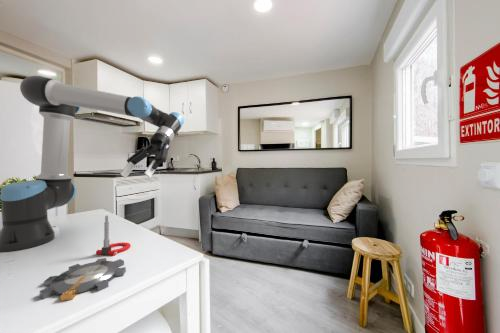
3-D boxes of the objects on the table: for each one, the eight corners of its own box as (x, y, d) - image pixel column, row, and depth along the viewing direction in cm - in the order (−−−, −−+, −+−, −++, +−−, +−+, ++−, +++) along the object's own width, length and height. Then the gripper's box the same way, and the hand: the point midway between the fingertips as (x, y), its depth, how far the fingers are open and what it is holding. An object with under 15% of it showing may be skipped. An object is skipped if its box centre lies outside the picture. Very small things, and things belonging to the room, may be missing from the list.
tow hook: (115, 244, 78) (93, 255, 68) (115, 210, 78) (93, 215, 69) (135, 246, 76) (115, 256, 67) (135, 211, 76) (116, 216, 67)
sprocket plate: (29, 285, 52) (29, 280, 52) (107, 256, 67) (107, 253, 67) (55, 311, 43) (55, 305, 43) (138, 271, 58) (138, 267, 58)
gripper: (188, 142, 90) (164, 181, 77) (148, 146, 100) (120, 181, 87) (178, 128, 85) (151, 168, 72) (137, 135, 95) (106, 170, 82)
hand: (134, 175), depth 80 cm, fingers open, 13 cm apart
